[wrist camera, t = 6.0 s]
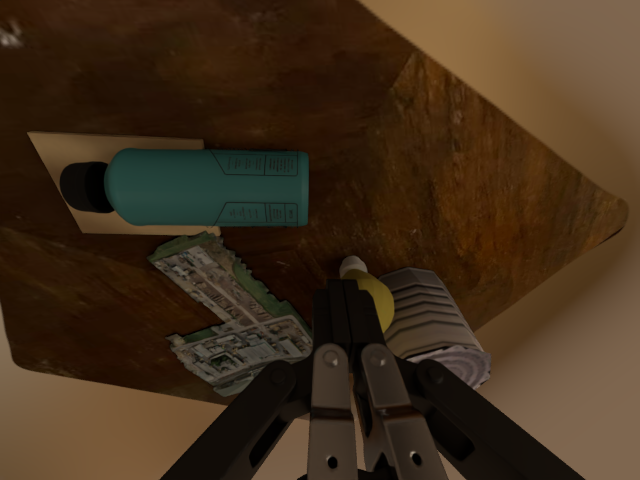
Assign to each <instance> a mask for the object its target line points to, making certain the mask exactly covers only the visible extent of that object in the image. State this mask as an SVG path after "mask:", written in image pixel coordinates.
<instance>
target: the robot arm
mask: <svg viewBox="0 0 640 480" xmlns="http://www.w3.org/2000/svg"><path fill="white" fill-rule="evenodd" d="M312 348H313V350H312V352H311V353H310V355H309V356H308V357H306V358H305V359H303V360H301V361H299V362H296V363H293V364H290V363H289V362H287V361H284V360H276V361H273V362H271V363H269V364H267V365H266V366H265V367H264V368H263V369H262V371H261V372H260V373H259V374H258V375H257V376H256V377H255V378H254V379H253V380H252V381H251V382H250V383H249V384H248V385H247V387H246V388H245V389H244V390H243V391H242V392H241V393H240V394H239V395H238V396H237V397H236V398H235V399H234V400H233V402H232V403H231V404H230V405H229V406H228V407H227V408H226V409H225V410H224V411H223V412H222V413H221V414H220V415H219V417H218V418H217V419H216V420H215V421H214V422H213V423H212V424H211V425H210V426H209V427H208V428H207V429H206V430H205V432H204V433H203V434H202V435H201V436H200V437H199V438H198V439H197V440H196V441H195V442H194V443H193V444H192V445H191V446H190V448H189V449H188V450H187V451H186V452H185V453H184V454H183V455H182V456H181V457H180V458H179V459H178V460H177V461H176V463H175V464H174V465H173V466H172V467H171V468H170V469H169V470H168V471H167V472H166V473H165V474H164V475H163V476H162V477H161V479H160V480H251V479H252V478H253V476H254V475H255V473H256V472H257V470H258V469H259V468H260V466H261V465H262V464H263V462H264V461H265V459H266V458H267V457H268V455H269V454H270V452H271V451H272V450H273V448H274V447H275V445H276V444H277V442H278V441H279V440H280V438H281V437H282V436H283V434H284V433H285V431H286V430H287V429H288V427H289V426H290V424H291V423H292V422H293V420H294V419H295V418H297V417H300V416H302V415H304V414H307V413H309V412H310V426H309V443H308V444H309V445H308V462H307V474H305V475H303V476H302V477H300V478H298V479H297V480H449V479H448V477H447V474H446V472H445V469H444V467H443V464H442V461H441V459H440V456H439V454H438V451H439V452H440V453H441V454H442V455H443V456H444V457H445V458H446V459H447V460H448V461H449V462H450V463H451V464H452V465H453V466H454V467H455V468H456V469H457V470H458V471H459V472H460V474H461V475H462V476H463V477H464V478H465V479H466V480H585V479H584V478H583V477H582V476H580V475H579V474H578V473H577V472H575V471H574V470H573V469H572V468H571V467H569V466H568V465H566V463H564V462H563V461H562V460H561V459H559V458H558V457H557V456H556V455H554V454H553V453H552V452H551V451H549V450H548V449H547V448H546V447H544V446H543V445H542V444H541V443H540V442H538V441H537V440H536V439H535V438H533V437H532V436H531V435H530V434H528V433H527V432H526V431H525V430H523V429H522V428H521V427H520V426H518V425H517V424H516V423H515V422H514V421H512V420H511V419H510V418H509V417H507V416H506V415H505V414H504V413H502V412H501V411H500V410H499V409H497V408H496V407H495V406H494V405H492V404H491V403H490V402H489V401H487V400H486V399H485V398H484V397H483V396H481V395H480V394H479V393H477V392H476V391H475V390H474V389H473V388H471V387H470V386H469V385H468V384H466V383H465V382H464V381H463V380H461V379H460V378H459V377H458V376H457V375H455V374H454V373H453V372H452V371H450V370H449V369H448V368H447V367H445V366H444V365H443V364H441V363H440V362H438V361H436V360H433V359H424V360H422V361H420V362H419V363H418V364H417V363H414V362H411V361H407V360H404V359H401V358H399V357H397V356H396V355H394V354H393V353H392V352H391V350H390V349H389V348H388V347H387V345H386V342H385V339H384V335H383V332H382V328H381V324H380V321H379V317H378V313H377V310H376V306H375V302H374V299H373V297H372V295H371V294H370V293H369V292H368V290H359V287H358V282H357V280H356V279H342V280H341V279H327V281H326V289H317V290H316V292H315V294H314V296H313V304H312ZM349 373H353V378H354V385H353V394H354V399H355V404H356V408H357V413H358V418H359V423H360V427H361V432H362V437H363V443H364V461H365V466H366V471H364V470H361V469H357V456H356V441H355V427H354V418H353V414H352V413H351V403H350V386H349ZM437 450H438V451H437Z"/></svg>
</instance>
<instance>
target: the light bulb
mask: <svg viewBox="0 0 640 480" xmlns="http://www.w3.org/2000/svg"><path fill="white" fill-rule="evenodd" d="M339 272H340V277H341V280H342V279H356V280H357V282H358V287H359V290H368V292H369V293H370V294H371V295H372V297H373V299H374V302H375V306H376V310H377V313H378V317H379V321H380V324H381V328H382V332H383V333H384V332H385V331H386V330H387V329H388V327H389V326H390V324H391V321H392V319H393V316H394V300H393V296H392V294H391V292H390V290H389V289H388V287H387V286H386V285H384V284H383V283H382V282H380V281H379V280H378V279H376V278H375V277H374V276H372V275H371V274H369V273H368V272H367V268H366V265H365V263H364V262H362V261H361V260H360V259H359V258H358V257H356V256H348V257H346V258H345V259H344V260H343V261H342V265H341V266H340V270H339Z"/></svg>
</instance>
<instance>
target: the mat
mask: <svg viewBox="0 0 640 480" xmlns="http://www.w3.org/2000/svg"><path fill="white" fill-rule="evenodd" d="M27 134H28V135H29V137H30V139H31V141H32V143H33V144H34V146H35V148H36V150H37V152H38V153H39V155H40V157H41V159H42V161H43V162H44V164H45V166H46V168H47V170H48V171H49V173H50V175H51V177H52V179H53V180H54V182H55V184H56V186H57V188H58V189H59V191H60V185H59V181H60V175H61V173H62V171H63V169H64V168H65V167H66V166H68V165H69V164H72V163H80V162H91V161H101V162H105V163H107V164H108V165H109V163H110V161H111V160H112V158H113V157H114V156H115V155H116V154H117V153H118V152H119V151H120V150H122V149H125V148H137V149H179V150H197V149H203V148H204V142H203V139H190V138H169V137H148V136H127V135H106V134H85V133H64V132H43V131H31V132H28V133H27ZM204 149H205V148H204ZM60 193H61V191H60ZM61 195H62V194H61ZM62 197H63V196H62ZM65 202H66V201H65ZM66 204H67V206H68V208H69V209H70V211H71V213H72V215H73V217H74V218H75V220H76V222H77V224H78V226H79V227H80V229H81V231H82V233H109V234H152V235H196V234H199V233H201V232H203V231H205V230H206V232H207V233H208V234H210V233H214V234H215V235H216V236H220V234H221V231H220V226H213V227H212V226H207V227H208V228H207V227H206V226H173V225H146V226H134V225H132V224H129V223H128V222H126V221H125V220H124V219H123V218H121V217H120V216H119V215H118V213H117V212H116V211H113V212H111V213H106V214H104V213H95V212H84V211H79V210H76V209H74V208H72V207H71V206H70V205H69V204H68V203H67V202H66ZM211 227H212V228H211Z"/></svg>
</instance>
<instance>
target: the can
mask: <svg viewBox="0 0 640 480" xmlns="http://www.w3.org/2000/svg"><path fill="white" fill-rule="evenodd" d="M378 280H379V281H380V282H382V283H383V284H384V285H386V286H387V287H388V289H389V290H390V292H391V294H392V296H393V300H394V316H393V319H392V321H391V324H390V326H389V327H388V329H387V330H386V331H385V332H384V333H383V335H384V339H385V342H386V345H387V347H388V348H389V349H390V350H391V352H392V353H393V354H394V355H396V356H397V357H399V358H401V359H404V360H407V361H411V362H414V363H417V364H418V363H419V362H420V361H422V360H424V359H433V360H436V361H438V362H440V363H441V364H443V365H444V366H445V367H447V368H448V369H449V370H450V371H452V372H453V373H454V374H455V375H457V376H458V377H459V378H460V379H461V380H463V381H464V382H465V383H466V384H468V385H469V386H470V387H471V388H473V389H474V390H475V389H477V388H478V387H479V386H480V385H482V384H483V383H484V382H486V381H487V380H488V379H490V367H491V354H489V353H485V352H484V351H483V349H482V348H481V346H480V344H479V342H478V341H477V339H476V337H475V336H474V334H473V332H472V330H471V329H470V327H469V325H468V324H467V322H466V320H465V319H464V317H463V315H462V314H461V312H460V310H459V308H458V307H457V305H456V303H455V302H454V300H453V298H452V297H451V295H450V293H449V292H448V290H447V288H446V287H445V285H444V284H443V283H442V281H441V280H440V279H439V278H438V277H437V275H436V274H435V273H434V272H433V271H431V270H424V269H418V268H411V267H406V268H403V269H400V270H397V271H394V272H391V273H387V274H384V275H381V276H380V277H379V278H378Z"/></svg>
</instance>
